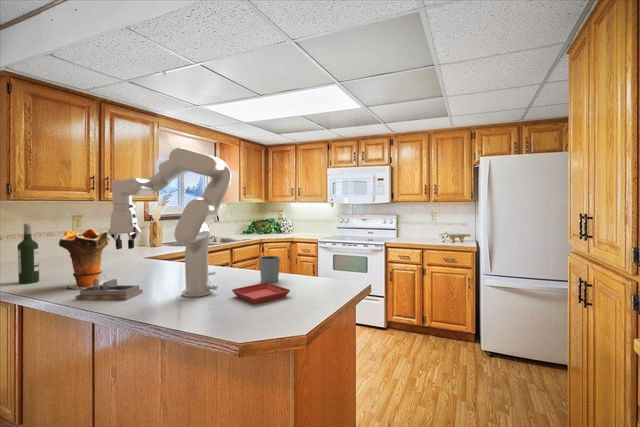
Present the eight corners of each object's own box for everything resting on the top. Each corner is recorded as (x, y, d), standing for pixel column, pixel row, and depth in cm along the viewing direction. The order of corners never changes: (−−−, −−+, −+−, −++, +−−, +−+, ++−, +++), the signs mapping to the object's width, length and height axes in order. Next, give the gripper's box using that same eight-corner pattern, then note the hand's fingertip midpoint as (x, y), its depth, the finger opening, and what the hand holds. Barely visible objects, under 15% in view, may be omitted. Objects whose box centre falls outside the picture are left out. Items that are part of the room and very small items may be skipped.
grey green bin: (258, 279, 172) (258, 256, 171) (278, 278, 175) (277, 255, 174) (261, 284, 162) (260, 259, 162) (281, 282, 165) (281, 258, 165)
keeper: (142, 292, 148) (142, 275, 148) (126, 299, 137) (126, 281, 137) (95, 292, 149) (94, 275, 149) (75, 299, 138) (75, 281, 138)
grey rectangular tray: (139, 289, 147) (139, 278, 147) (126, 295, 138) (126, 283, 138) (95, 289, 148) (95, 278, 148) (79, 295, 139) (79, 283, 139)
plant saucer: (291, 297, 140) (291, 289, 140) (254, 306, 128) (253, 298, 127) (266, 289, 153) (266, 282, 153) (230, 297, 141) (230, 289, 141)
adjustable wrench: (190, 284, 165) (189, 280, 165) (178, 283, 166) (178, 280, 166) (217, 273, 189) (217, 270, 189) (207, 273, 191) (207, 270, 191)
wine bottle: (41, 281, 172) (39, 223, 171) (22, 284, 165) (19, 224, 164) (35, 279, 176) (33, 222, 175) (16, 283, 169) (14, 223, 168)
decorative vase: (76, 292, 148) (72, 229, 148) (52, 289, 160) (49, 230, 160) (123, 282, 166) (120, 226, 166) (99, 280, 178) (96, 227, 178)
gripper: (146, 206, 151) (148, 247, 152) (109, 208, 152) (111, 248, 152) (137, 206, 144) (139, 249, 144) (98, 208, 144) (100, 250, 145)
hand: (125, 248), depth 148 cm, fingers open, 4 cm apart
